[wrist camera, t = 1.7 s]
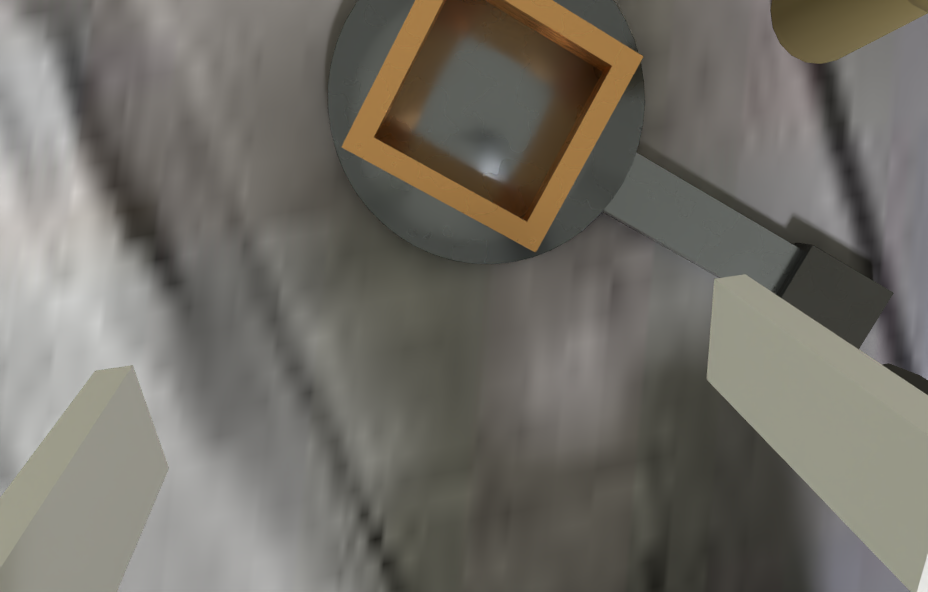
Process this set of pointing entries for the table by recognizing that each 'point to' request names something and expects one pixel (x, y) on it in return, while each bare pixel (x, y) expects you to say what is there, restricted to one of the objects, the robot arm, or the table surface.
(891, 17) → the cork
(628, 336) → the table surface
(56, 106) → the table surface
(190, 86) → the table surface
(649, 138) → the table surface
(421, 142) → the round pan with handle
